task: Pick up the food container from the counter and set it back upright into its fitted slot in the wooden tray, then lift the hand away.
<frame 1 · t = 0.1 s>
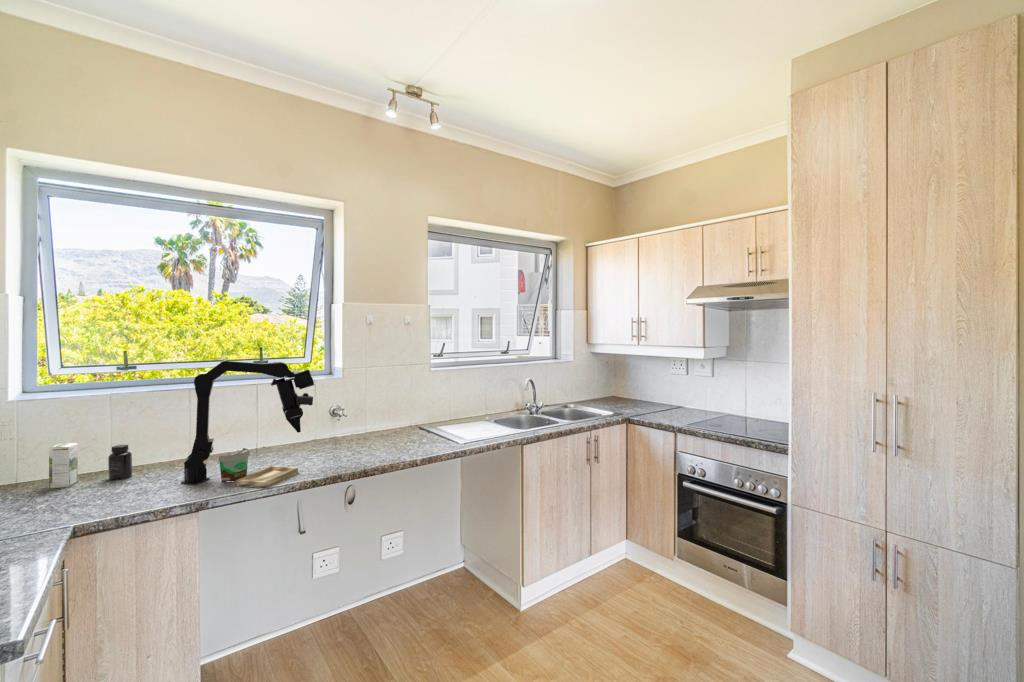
hand: (298, 430, 187), 15 cm above the table, tool pointing down, fingers open, 9 cm apart
food container: (238, 479, 174), on the table
supplement bottle: (120, 478, 175), on the table
wooden tray: (268, 478, 174), on the table
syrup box: (64, 485, 166), on the table
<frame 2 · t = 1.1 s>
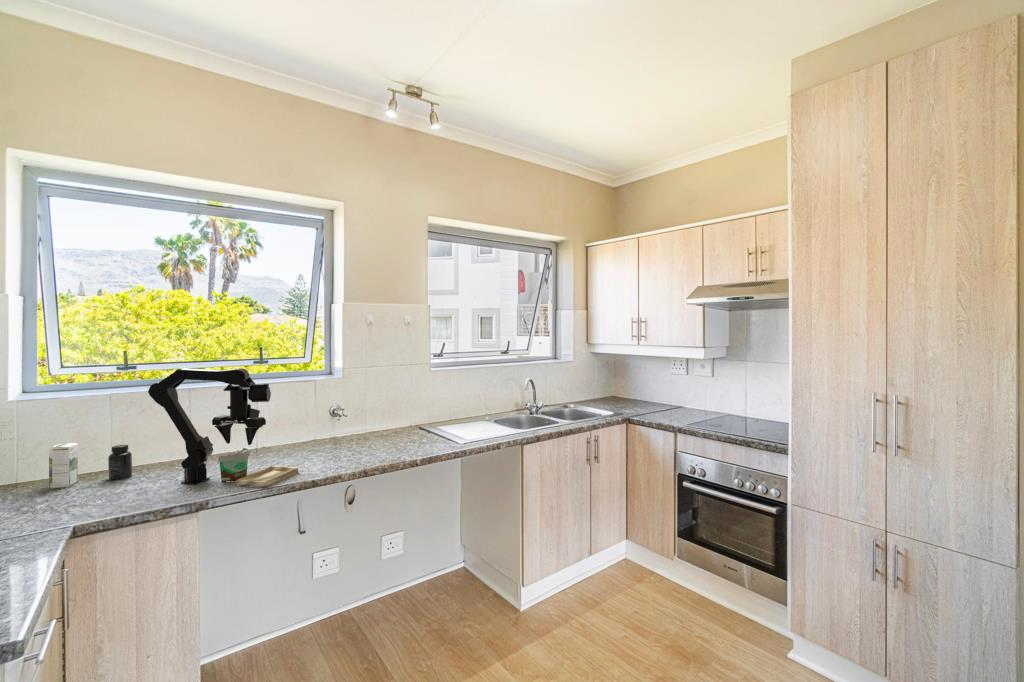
hand: (239, 444, 174), 13 cm above the table, tool pointing down, fingers open, 9 cm apart
nothing on the table moved.
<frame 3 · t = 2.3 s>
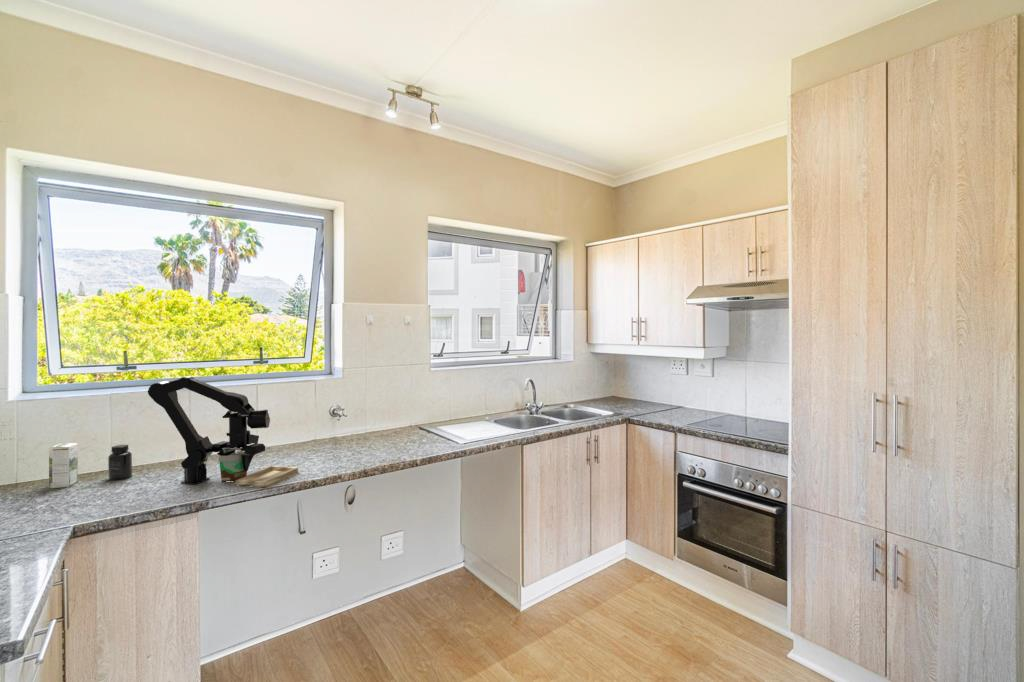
hand: (238, 470, 174), 3 cm above the table, tool pointing down, fingers open, 6 cm apart
food container: (238, 479, 174), on the table, touching gripper
everything else where it was.
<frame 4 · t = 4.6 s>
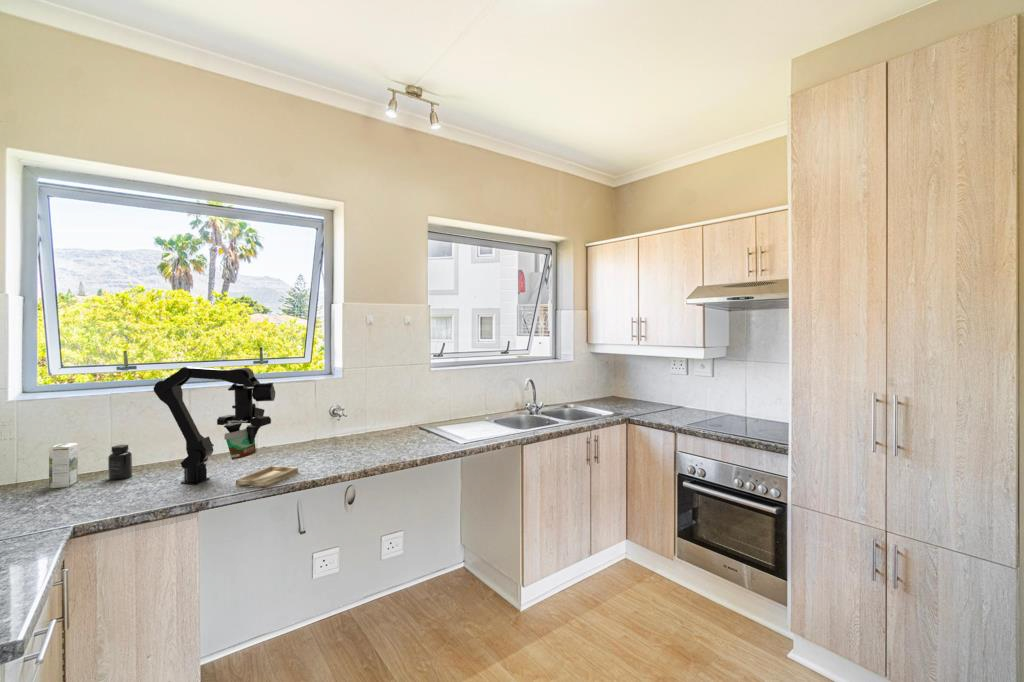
hand: (244, 443, 174), 13 cm above the table, tool pointing down, fingers closed on food container, 5 cm apart
food container: (248, 455, 174), point 9 cm above the table, touching gripper
everything else where it was.
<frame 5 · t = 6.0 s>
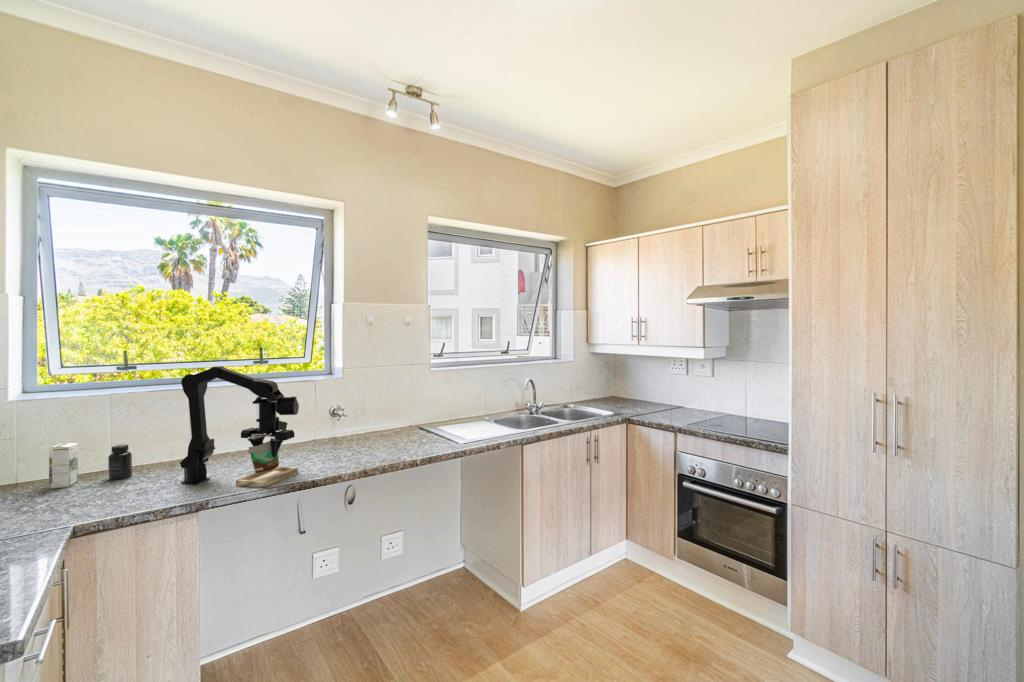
hand: (267, 456, 174), 8 cm above the table, tool pointing down, fingers closed on food container, 5 cm apart
food container: (271, 468, 174), point 4 cm above the table, touching gripper
everything else where it was.
when the fingers open (5 cm above the table, at t = 7.0 s): food container stays where it is, resting on wooden tray.
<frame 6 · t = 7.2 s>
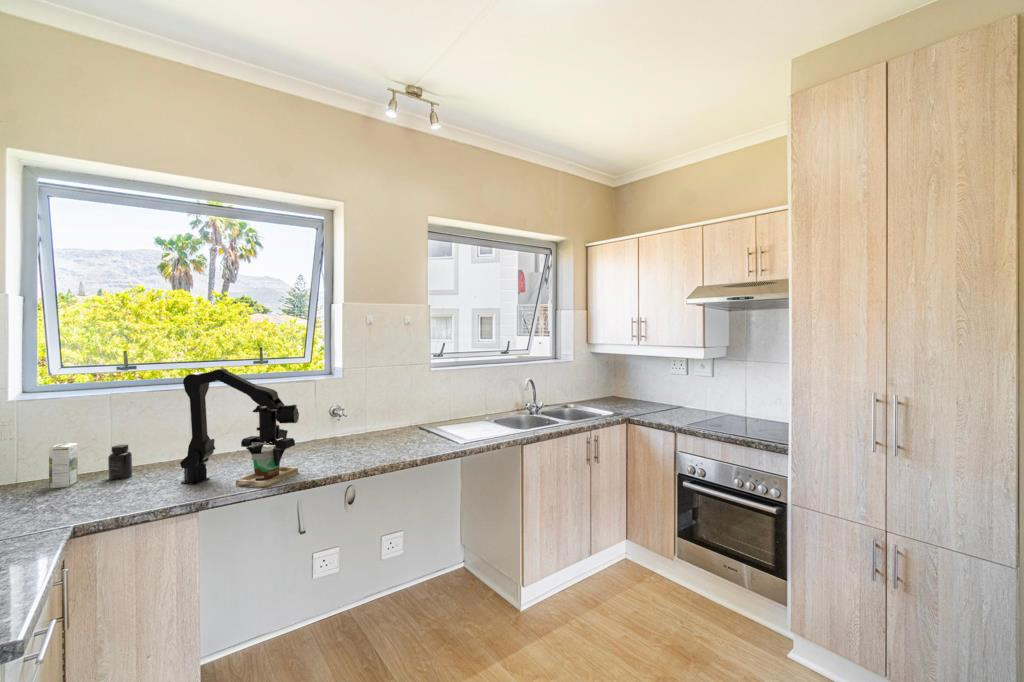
hand: (268, 465, 174), 5 cm above the table, tool pointing down, fingers open, 7 cm apart
food container: (271, 477, 174), resting on wooden tray, touching gripper
everything else where it was.
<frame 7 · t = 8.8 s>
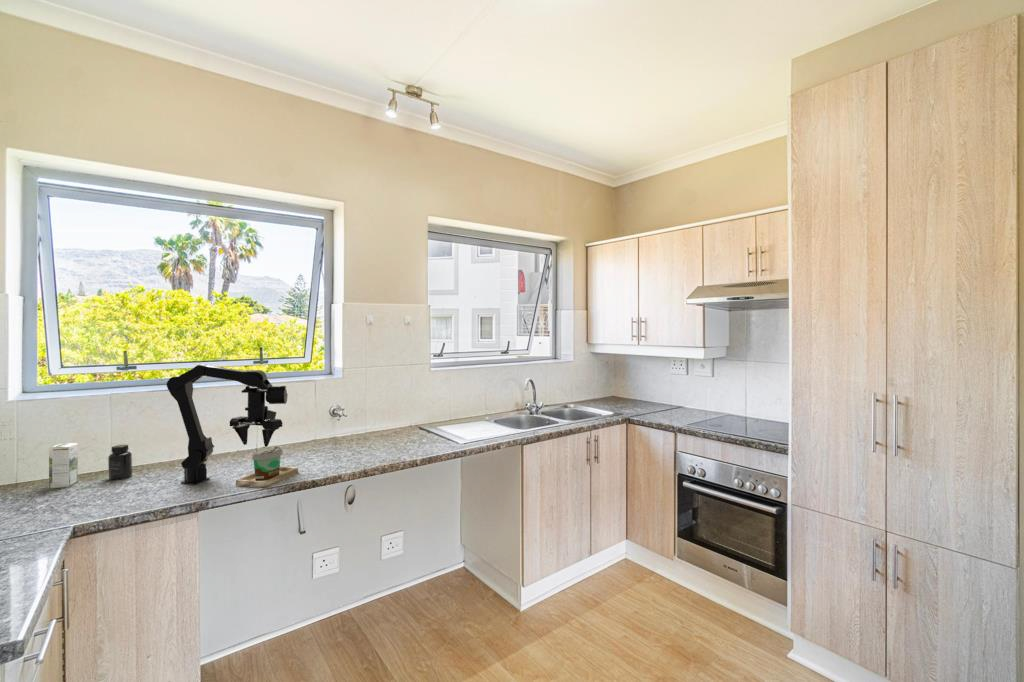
hand: (255, 445, 176), 12 cm above the table, tool pointing down, fingers open, 9 cm apart
food container: (271, 477, 174), resting on wooden tray
everything else where it was.
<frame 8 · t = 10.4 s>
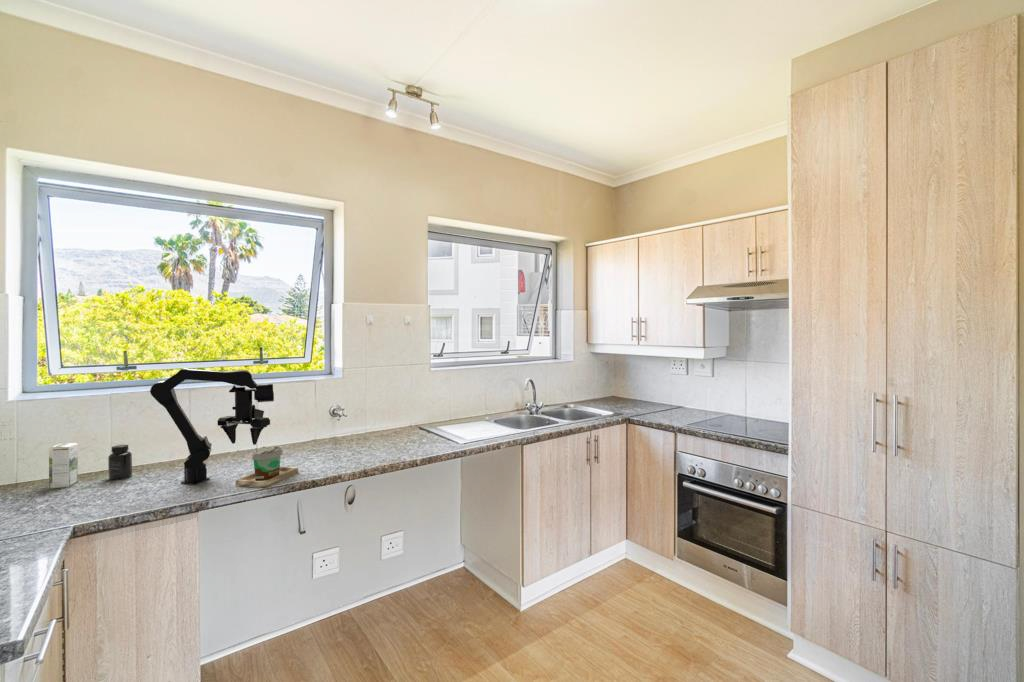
hand: (244, 444, 178), 12 cm above the table, tool pointing down, fingers open, 9 cm apart
nothing on the table moved.
at the end: food container 1.1 cm off-centre on the wooden tray, point 0.4 cm above the wooden tray's base; food container tilted 0°; the gripper is holding nothing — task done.
